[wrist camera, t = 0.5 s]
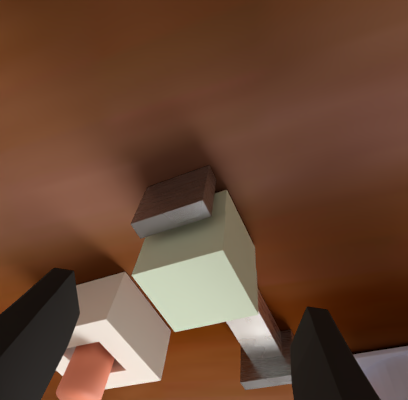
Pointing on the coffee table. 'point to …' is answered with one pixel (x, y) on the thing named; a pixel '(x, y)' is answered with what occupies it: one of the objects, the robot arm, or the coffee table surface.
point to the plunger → (86, 373)
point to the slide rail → (263, 322)
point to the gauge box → (120, 330)
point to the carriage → (201, 269)
